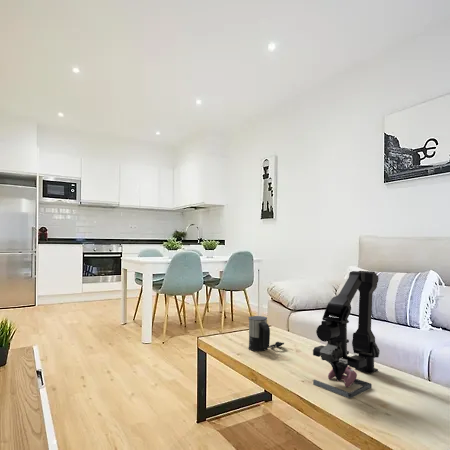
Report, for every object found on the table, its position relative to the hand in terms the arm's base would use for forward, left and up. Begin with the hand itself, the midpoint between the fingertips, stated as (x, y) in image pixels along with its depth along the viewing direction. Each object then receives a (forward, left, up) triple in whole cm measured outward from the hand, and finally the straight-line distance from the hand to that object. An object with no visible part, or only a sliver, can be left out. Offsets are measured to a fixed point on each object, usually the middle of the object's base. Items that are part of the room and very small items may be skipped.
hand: (338, 380), depth 125 cm
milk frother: (-11, -47, -2) cm, 48 cm away
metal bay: (0, +1, -2) cm, 2 cm away
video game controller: (-4, -1, -2) cm, 4 cm away
